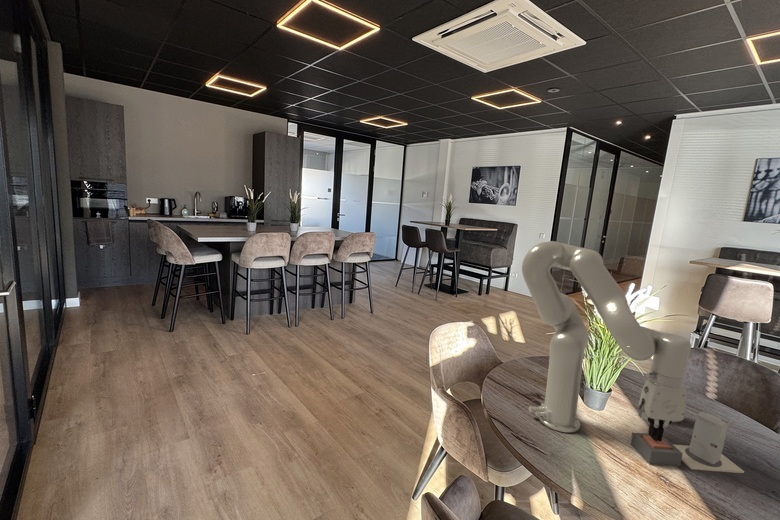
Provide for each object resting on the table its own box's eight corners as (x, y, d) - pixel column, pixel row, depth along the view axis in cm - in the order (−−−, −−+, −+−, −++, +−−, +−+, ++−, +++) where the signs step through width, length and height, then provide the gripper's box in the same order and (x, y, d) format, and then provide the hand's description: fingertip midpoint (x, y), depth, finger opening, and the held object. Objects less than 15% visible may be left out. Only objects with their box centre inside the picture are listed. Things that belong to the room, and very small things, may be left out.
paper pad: (691, 469, 98) (691, 467, 98) (665, 445, 108) (665, 443, 108) (744, 473, 98) (744, 471, 98) (713, 448, 108) (713, 447, 108)
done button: (652, 455, 101) (653, 445, 101) (641, 444, 106) (642, 435, 106) (669, 456, 101) (671, 447, 101) (657, 445, 106) (659, 436, 105)
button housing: (649, 464, 100) (651, 451, 99) (630, 444, 108) (632, 432, 107) (680, 466, 99) (682, 453, 99) (659, 446, 108) (661, 434, 107)
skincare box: (687, 452, 105) (694, 413, 103) (695, 448, 107) (702, 410, 105) (714, 465, 99) (722, 425, 98) (721, 461, 101) (729, 421, 100)
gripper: (647, 382, 97) (636, 444, 100) (704, 387, 96) (691, 449, 99) (630, 370, 104) (620, 427, 107) (683, 374, 104) (671, 432, 107)
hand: (654, 437), depth 103 cm, fingers closed
